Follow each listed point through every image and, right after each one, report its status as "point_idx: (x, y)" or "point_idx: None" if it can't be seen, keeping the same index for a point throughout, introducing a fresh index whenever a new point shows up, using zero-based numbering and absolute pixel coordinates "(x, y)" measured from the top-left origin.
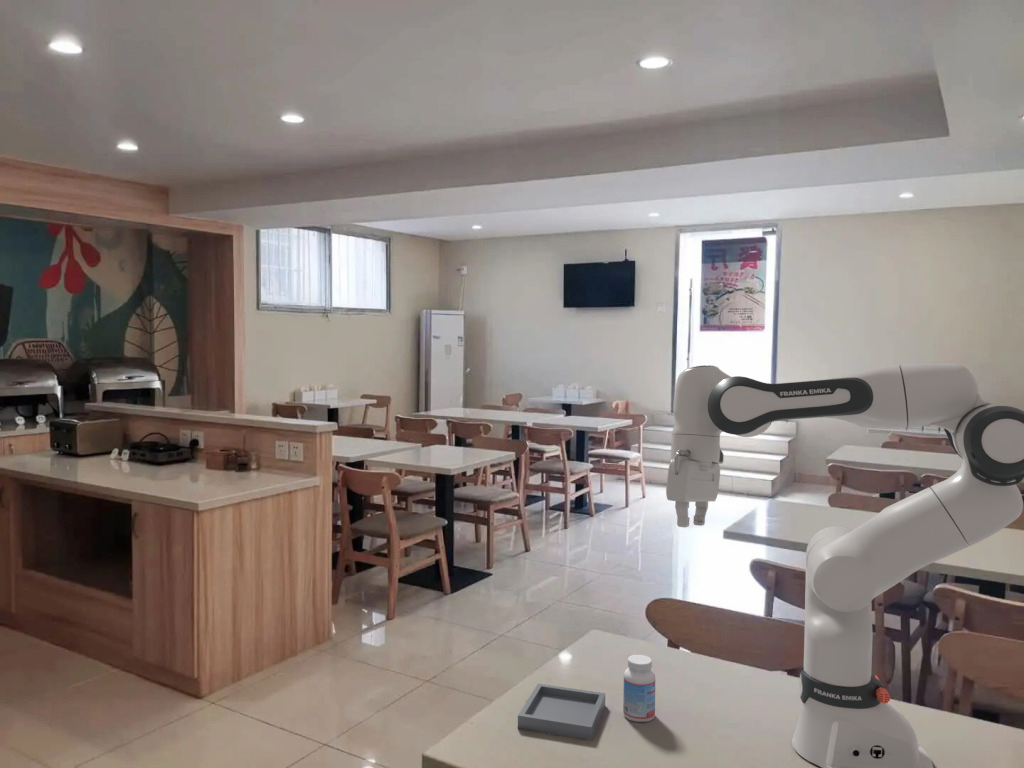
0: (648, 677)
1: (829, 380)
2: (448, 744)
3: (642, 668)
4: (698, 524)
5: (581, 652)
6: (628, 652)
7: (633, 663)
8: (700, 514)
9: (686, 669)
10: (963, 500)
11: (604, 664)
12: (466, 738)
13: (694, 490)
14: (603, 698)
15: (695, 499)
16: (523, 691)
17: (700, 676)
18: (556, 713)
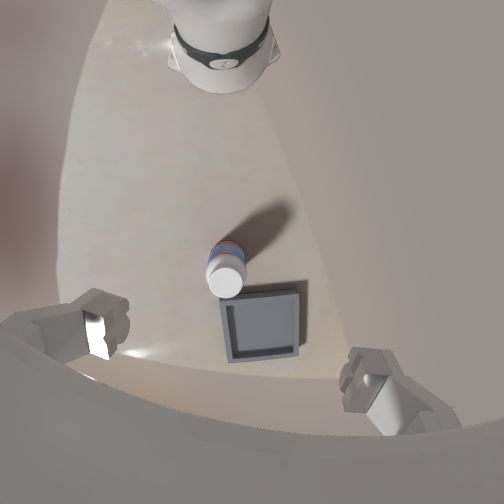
0: (237, 262)
1: None
2: (333, 376)
3: (241, 274)
4: (125, 314)
5: None
6: None
7: (241, 287)
8: (78, 332)
9: (93, 231)
10: None
11: None
12: (322, 371)
13: (468, 492)
14: (231, 300)
15: (409, 442)
16: (226, 367)
17: (102, 212)
18: (267, 330)
